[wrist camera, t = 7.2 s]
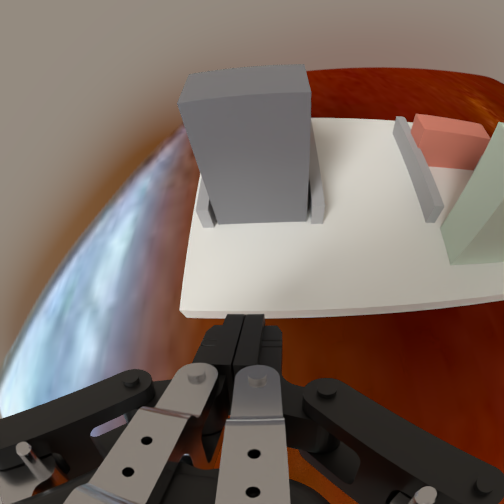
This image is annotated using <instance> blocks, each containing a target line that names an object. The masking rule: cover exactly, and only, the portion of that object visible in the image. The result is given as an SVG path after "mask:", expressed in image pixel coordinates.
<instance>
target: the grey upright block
mask: <svg viewBox="0 0 504 504" xmlns="http://www.w3.org/2000/svg"><path fill="white" fill-rule="evenodd" d="M177 105H178V107H179V111H180V114H181V117H182V119H183V123H184V126H185V129H186V132H187V135H188V138H189V141H190V144H191V147H192V149H193V152H194V155H195V158H196V161H197V164H198V167H199V170H200V173H201V176H202V179H203V182H204V184H205V187H206V190H207V193H208V196H209V199H210V202H211V205H212V207H213V210H214V213H215V216H216V219H217V222H218V224H219V225H220V224H244V223H272V222H306V219H307V202H308V183H309V160H310V128H311V90H310V86H309V82H308V78H307V74H306V70H305V66H304V64H302V65H301V64H298V65H297V64H296V65H270V66H253V67H242V68H232V69H223V70H215V71H208V72H201V73H194V74H189V76H188V78H187V81H186V83H185V86H184V88H183V90H182V93H181V96H180V98H179V100H178V103H177Z"/></svg>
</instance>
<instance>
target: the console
mask: <svg viewBox="0 0 504 504" xmlns="http://www.w3.org/2000/svg"><path fill="white" fill-rule="evenodd" d="M490 139H491V138H490V137H489V135H488V134H487V132H486V131H485V129H484V128H483V126H482V125H481V124H478V123H473V122H467V121H462V120H456V119H450V118H444V117H437V116H430V115H422V114H416V115H415V118H414V122H413V123H411V122H407V121H406V119H405V117H398V116H396V121H388V120H373V119H351V118H311V128H310V160H309V183H308V202H307V219H306V222H272V223H244V224H220V225H219V224H218V222H217V219H216V216H215V213H214V210H213V207H212V205H211V202H210V199H209V196H208V193H207V190H206V187H205V184H204V182H203V179H202V176H201V173H200V178H199V184H198V189H197V195H196V201H195V206H194V212H193V218H192V224H191V231H190V237H189V243H188V250H187V257H186V264H185V271H184V278H183V286H182V293H181V302H180V311H181V312H182V313H183V314H184V315H185V316H186V317H187V318H226V316H227V314H245V315H246V314H264V315H265V318H309V317H334V316H354V315H370V314H384V313H397V312H409V311H420V310H430V309H439V308H448V307H457V306H465V305H473V304H480V303H487V302H494V301H501V300H504V262H496V263H480V264H464V265H450V261H449V257H448V254H447V250H446V247H445V243H444V240H443V236H442V233H441V230H440V227H441V226H442V224H443V223H444V221H445V220H446V218H447V217H448V215H449V213H450V212H451V210H452V209H453V207H454V205H455V204H456V202H457V200H458V199H459V197H460V195H461V194H462V192H463V190H464V188H465V187H466V185H467V183H468V181H469V180H470V178H471V176H472V174H473V172H474V171H475V169H476V167H477V165H478V163H479V161H480V159H481V157H482V155H483V154H484V152H485V150H486V148H487V146H488V144H489V142H490Z"/></svg>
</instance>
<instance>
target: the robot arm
mask: <svg viewBox="0 0 504 504" xmlns="http://www.w3.org/2000/svg"><path fill="white" fill-rule="evenodd" d="M121 415H124V417H125V419H126V422H127V423H126V424H124V425H122V426H120V427H118V428H115V429H113V430H111V431H109V432H107V433H105V434H102V435H100V436H97V437H92V436H90V433H91V431H92V430H93V429H94V428H95V427H97V426H99V425H101V424H104V423H106V422H108V421H110V420H112V419H115V418H117V417H119V416H121ZM228 415H231V416H230V418H228ZM222 443H223V446H222ZM221 446H222V454H221V462H220V469H214V466H215V463H216V460H217V457H218V455H219V452H220V449H221ZM287 447H291V448H295V449H299V452H300V454H301V456H302V457H303V458H304V459H305V460H306V461H308V462H309V463H310V464H311V465H312V466H313V467H314V468H316V469H317V470H318V471H319V472H320V473H321V474H323V475H324V476H325V477H326V478H327V479H329V480H330V481H331V482H332V483H333V484H335V485H336V486H337V487H338V488H340V489H341V490H342V491H343V492H345V493H346V494H347V495H348V496H350V497H351V498H352V499H354V500H355V501H356V502H358V503H359V504H498V503H499V502H500V501H501V500H502V499H503V497H504V474H503V473H502V472H501V471H500V470H499V469H498V468H496V467H494V466H492V465H490V464H488V463H486V462H484V461H482V460H480V459H478V458H476V457H474V456H472V455H470V454H468V453H466V452H464V451H462V450H460V449H458V448H456V447H454V446H452V445H450V444H448V443H446V442H445V441H443V440H441V439H439V438H437V437H435V436H433V435H432V434H430V433H428V432H426V431H424V430H423V429H421V428H419V427H417V426H415V425H414V424H412V423H410V422H408V421H407V420H405V419H403V418H401V417H400V416H398V415H396V414H394V413H393V412H391V411H389V410H388V409H386V408H384V407H383V406H381V405H379V404H378V403H376V402H374V401H373V400H371V399H369V398H368V397H366V396H364V395H363V394H361V393H359V392H358V391H356V390H355V389H353V388H351V387H350V386H348V385H346V384H345V383H343V382H341V381H339V380H337V379H332V378H321V379H316V380H313V381H311V382H310V383H308V384H307V385H306V386H305V387H301V386H297V385H294V384H291V383H289V382H288V381H286V380H285V379H284V378H283V376H282V332H281V330H280V329H279V328H278V326H265V315H264V314H246V315H245V314H227V316H226V318H225V321H224V323H223V325H214V326H213V327H212V328H210V329H209V330H208V331H207V332H206V334H205V336H204V338H203V340H202V342H201V346H200V347H199V349H198V351H197V353H196V355H195V358H194V360H193V362H192V364H188V365H186V366H184V367H182V368H180V369H179V370H178V371H177V373H176V374H175V376H174V378H173V379H171V380H164V381H155V382H153V381H152V378H151V375H150V374H149V373H148V372H146V371H143V370H139V369H132V370H127V371H124V372H121V373H119V374H117V375H114V376H112V377H110V378H107V379H105V380H103V381H100V382H98V383H95V384H93V385H90V386H88V387H86V388H83V389H81V390H78V391H76V392H73V393H71V394H68V395H65V396H63V397H60V398H58V399H55V400H53V401H50V402H47V403H45V404H42V405H39V406H37V407H34V408H31V409H28V410H26V411H23V412H20V413H17V414H14V415H11V416H9V417H6V418H3V419H0V497H1V500H2V504H330V503H329V502H328V501H327V500H326V499H325V498H324V497H322V496H321V495H320V494H319V493H318V492H316V491H315V490H313V489H312V488H310V487H308V486H306V485H304V484H302V483H300V482H297V481H294V480H291V479H289V473H288V459H287Z"/></svg>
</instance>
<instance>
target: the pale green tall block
mask: <svg viewBox="0 0 504 504" xmlns="http://www.w3.org/2000/svg"><path fill="white" fill-rule="evenodd" d="M440 230H441V233H442V236H443V240H444V243H445V247H446V250H447V254H448V257H449V261H450V265H464V264H480V263H496V262H504V123H502V122H498V125H497V127H496V129H495V131H494V133H493V135H492V137H491V139H490V142H489V144H488V146H487V148H486V150H485V152H484V154H483V155H482V157H481V159H480V161H479V163H478V165H477V167H476V169H475V171H474V172H473V174H472V176H471V178H470V180H469V181H468V183H467V185H466V187H465V188H464V190H463V192H462V194H461V195H460V197H459V199H458V200H457V202H456V204H455V205H454V207H453V209H452V210H451V212H450V213H449V215H448V217H447V218H446V220H445V221H444V223H443V224H442V226H441V227H440Z"/></svg>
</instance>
